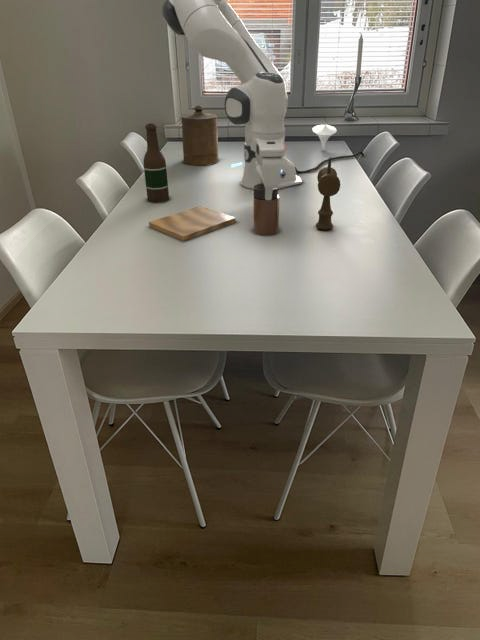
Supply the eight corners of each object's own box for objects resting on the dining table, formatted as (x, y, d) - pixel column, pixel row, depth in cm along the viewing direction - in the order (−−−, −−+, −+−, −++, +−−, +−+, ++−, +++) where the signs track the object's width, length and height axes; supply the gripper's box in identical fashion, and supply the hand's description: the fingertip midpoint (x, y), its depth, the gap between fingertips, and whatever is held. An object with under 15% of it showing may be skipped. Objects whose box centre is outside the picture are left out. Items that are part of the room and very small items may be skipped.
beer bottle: (165, 203, 162) (158, 126, 149) (143, 202, 163) (134, 126, 151) (172, 196, 168) (166, 122, 156) (151, 195, 170) (143, 121, 157)
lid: (254, 199, 132) (255, 190, 130) (252, 192, 137) (252, 183, 136) (279, 199, 132) (279, 190, 131) (275, 191, 138) (275, 183, 137)
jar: (270, 224, 144) (271, 184, 138) (283, 232, 139) (284, 190, 132) (249, 228, 142) (248, 187, 135) (260, 237, 136) (260, 194, 130)
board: (200, 210, 156) (200, 205, 155) (235, 222, 146) (235, 217, 145) (149, 226, 144) (148, 222, 143) (184, 241, 134) (183, 236, 133)
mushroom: (336, 153, 218) (339, 125, 212) (312, 153, 218) (314, 125, 212) (333, 148, 227) (335, 120, 221) (309, 148, 227) (311, 121, 221)
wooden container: (225, 159, 212) (223, 104, 200) (205, 167, 201) (202, 109, 189) (197, 155, 218) (194, 102, 207) (176, 162, 208) (172, 106, 196)
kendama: (314, 234, 137) (319, 161, 127) (313, 222, 146) (317, 152, 135) (335, 234, 137) (342, 161, 126) (333, 222, 145) (339, 153, 135)
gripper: (251, 134, 136) (250, 184, 143) (260, 151, 119) (259, 207, 126) (273, 134, 136) (271, 183, 144) (286, 151, 119) (283, 206, 126)
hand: (266, 194), depth 135 cm, fingers closed on lid, 6 cm apart
